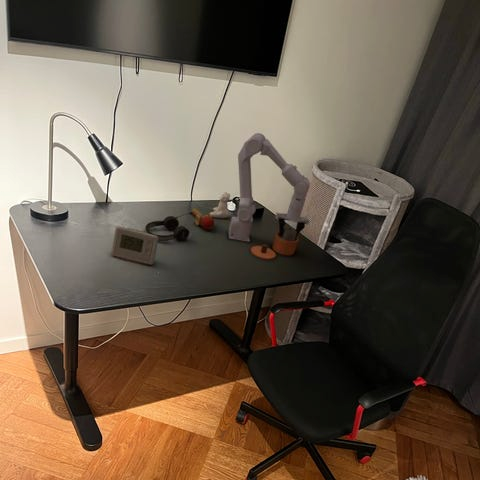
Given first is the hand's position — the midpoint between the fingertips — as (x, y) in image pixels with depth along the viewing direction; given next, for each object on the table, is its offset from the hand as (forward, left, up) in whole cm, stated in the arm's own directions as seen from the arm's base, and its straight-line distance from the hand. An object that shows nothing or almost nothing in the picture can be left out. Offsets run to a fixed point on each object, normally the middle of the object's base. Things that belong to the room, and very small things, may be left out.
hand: (287, 236), depth 206 cm
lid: (-10, -7, -6) cm, 14 cm away
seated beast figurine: (-28, +26, -7) cm, 39 cm away
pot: (0, 0, -7) cm, 7 cm away
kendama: (-37, +14, -7) cm, 40 cm away
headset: (-51, -4, -7) cm, 52 cm away
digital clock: (-62, -29, -7) cm, 69 cm away
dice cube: (0, 0, -2) cm, 2 cm away
